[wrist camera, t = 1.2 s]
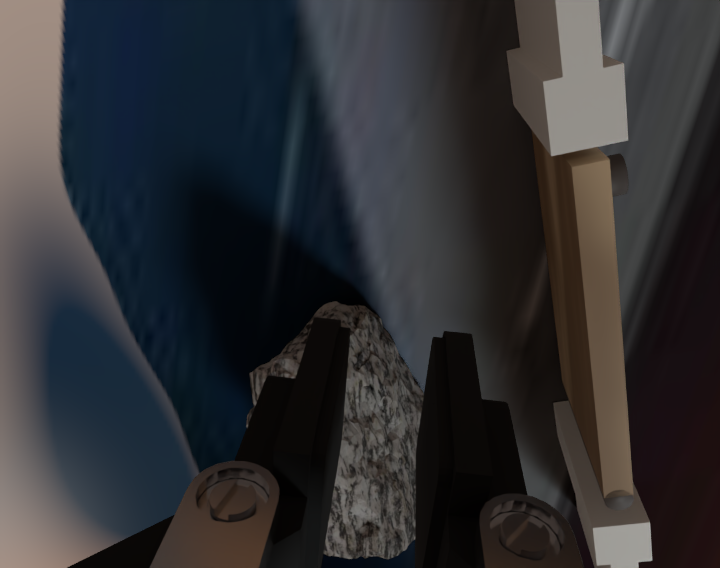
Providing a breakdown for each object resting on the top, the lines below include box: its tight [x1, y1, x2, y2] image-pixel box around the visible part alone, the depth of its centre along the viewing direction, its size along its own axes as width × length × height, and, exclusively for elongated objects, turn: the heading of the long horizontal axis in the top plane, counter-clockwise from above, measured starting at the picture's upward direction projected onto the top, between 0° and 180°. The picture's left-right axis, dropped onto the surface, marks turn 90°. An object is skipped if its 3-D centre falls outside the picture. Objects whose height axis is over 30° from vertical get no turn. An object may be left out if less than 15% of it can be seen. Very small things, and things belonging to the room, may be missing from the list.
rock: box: [247, 301, 424, 559], centre depth 32 cm, size 16×8×10 cm, turn 6°
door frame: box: [506, 0, 652, 568], centre depth 28 cm, size 2×33×9 cm, turn 14°
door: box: [531, 129, 634, 510], centre depth 27 cm, size 3×16×9 cm, turn 14°
